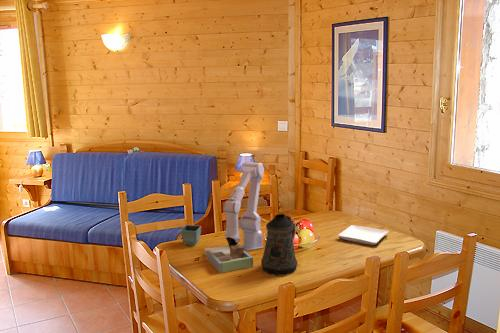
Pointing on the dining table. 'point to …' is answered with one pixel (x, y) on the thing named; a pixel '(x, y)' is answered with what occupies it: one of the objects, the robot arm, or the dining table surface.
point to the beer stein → (279, 247)
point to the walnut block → (236, 251)
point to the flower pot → (190, 234)
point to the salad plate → (362, 234)
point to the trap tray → (227, 259)
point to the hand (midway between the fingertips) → (232, 251)
